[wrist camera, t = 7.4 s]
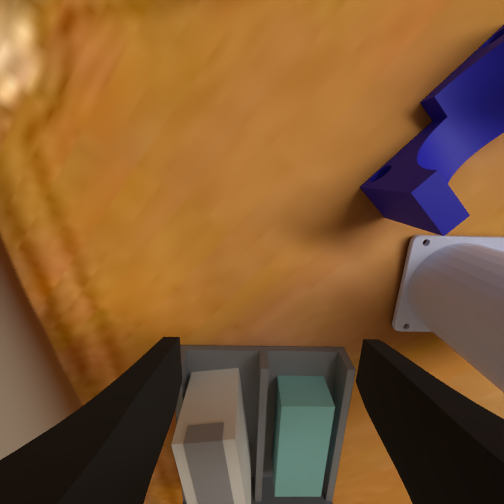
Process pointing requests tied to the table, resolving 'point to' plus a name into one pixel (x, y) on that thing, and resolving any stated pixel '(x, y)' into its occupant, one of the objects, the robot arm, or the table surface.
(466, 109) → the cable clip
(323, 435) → the teal rectangular prism
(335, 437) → the grey divided tray
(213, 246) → the table surface
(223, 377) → the grey striped bar
